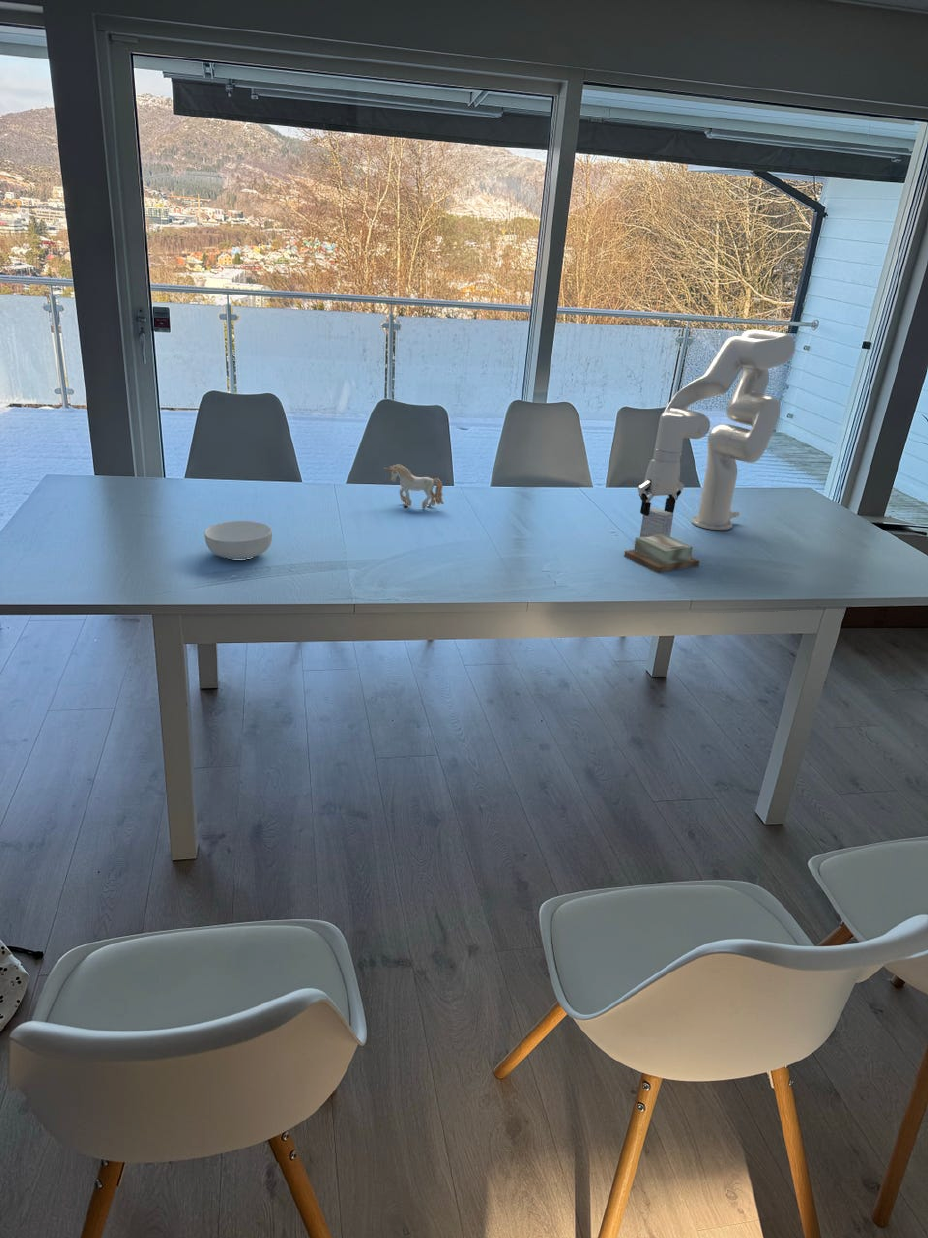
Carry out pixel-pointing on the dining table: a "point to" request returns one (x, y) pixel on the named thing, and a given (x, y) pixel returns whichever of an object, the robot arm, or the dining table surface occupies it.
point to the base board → (656, 565)
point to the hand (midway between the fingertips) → (656, 513)
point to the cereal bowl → (238, 539)
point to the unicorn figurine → (416, 485)
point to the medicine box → (656, 523)
